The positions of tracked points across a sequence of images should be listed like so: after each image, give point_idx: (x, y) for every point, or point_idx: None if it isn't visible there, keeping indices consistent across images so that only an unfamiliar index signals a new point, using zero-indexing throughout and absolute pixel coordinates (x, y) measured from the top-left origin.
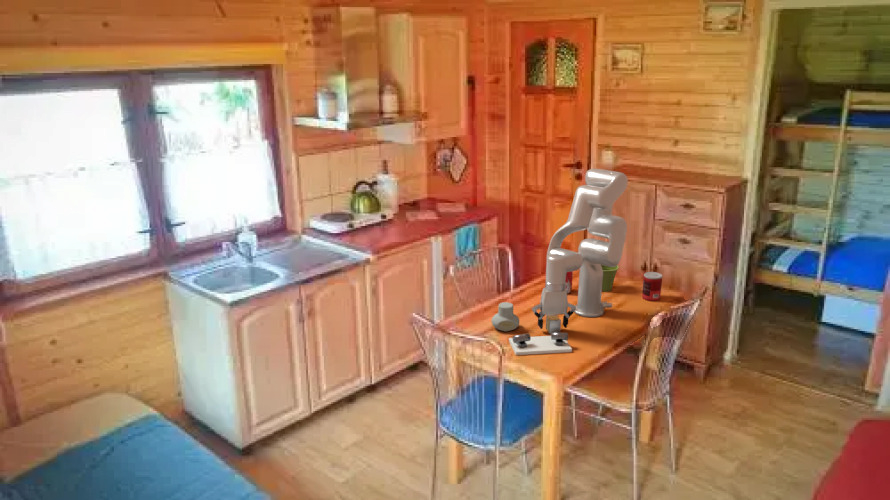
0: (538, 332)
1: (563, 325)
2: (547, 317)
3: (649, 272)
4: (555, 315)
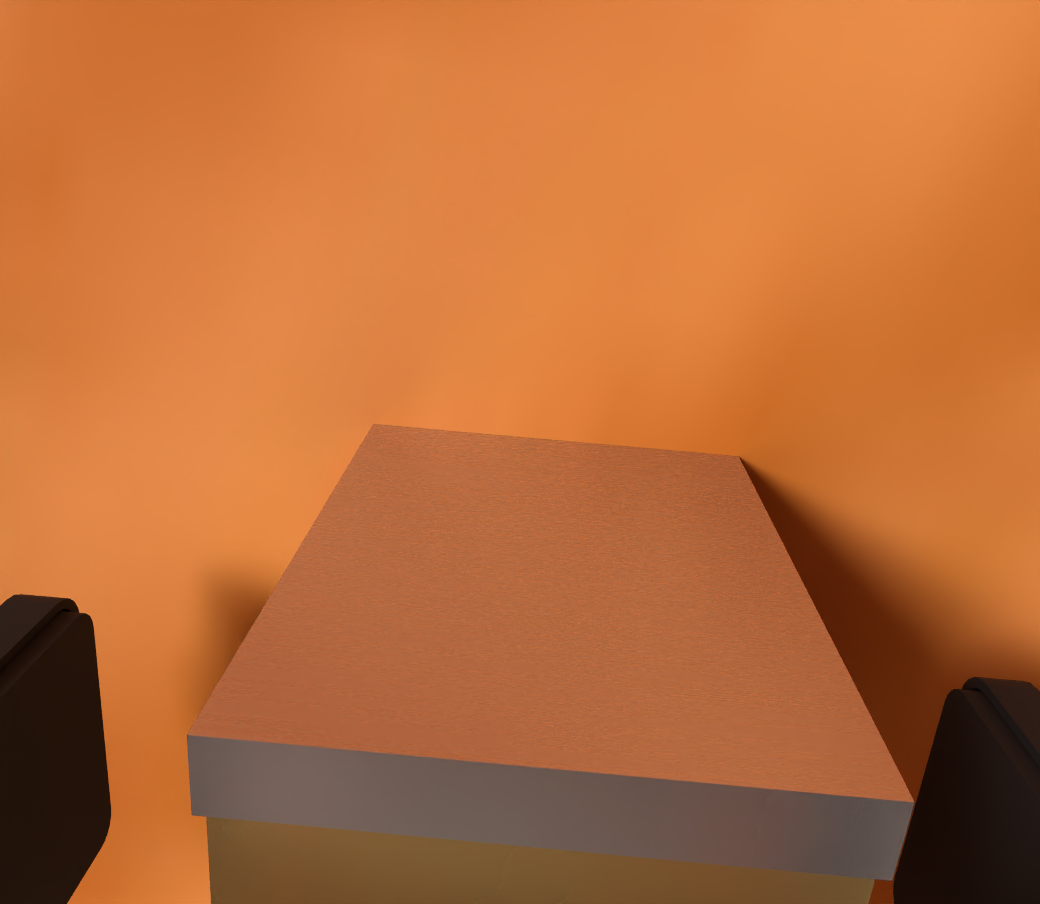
0: None
1: (932, 768)
2: (221, 893)
3: None
4: (760, 862)
